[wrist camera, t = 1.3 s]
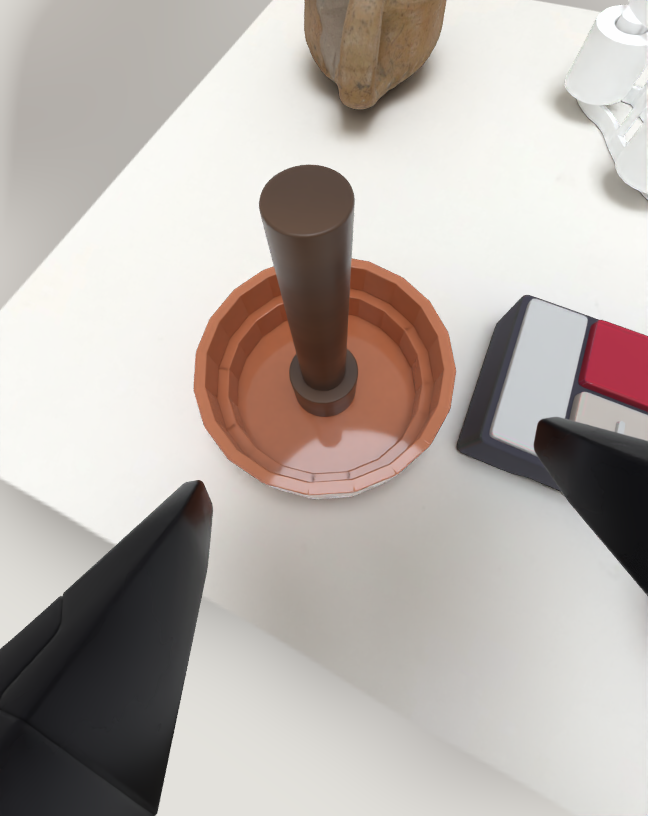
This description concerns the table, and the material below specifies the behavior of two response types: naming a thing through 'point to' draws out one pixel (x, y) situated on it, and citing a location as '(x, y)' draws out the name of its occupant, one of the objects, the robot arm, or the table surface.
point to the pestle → (314, 280)
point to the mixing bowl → (335, 435)
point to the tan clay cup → (371, 43)
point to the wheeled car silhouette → (616, 85)
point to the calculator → (553, 383)
